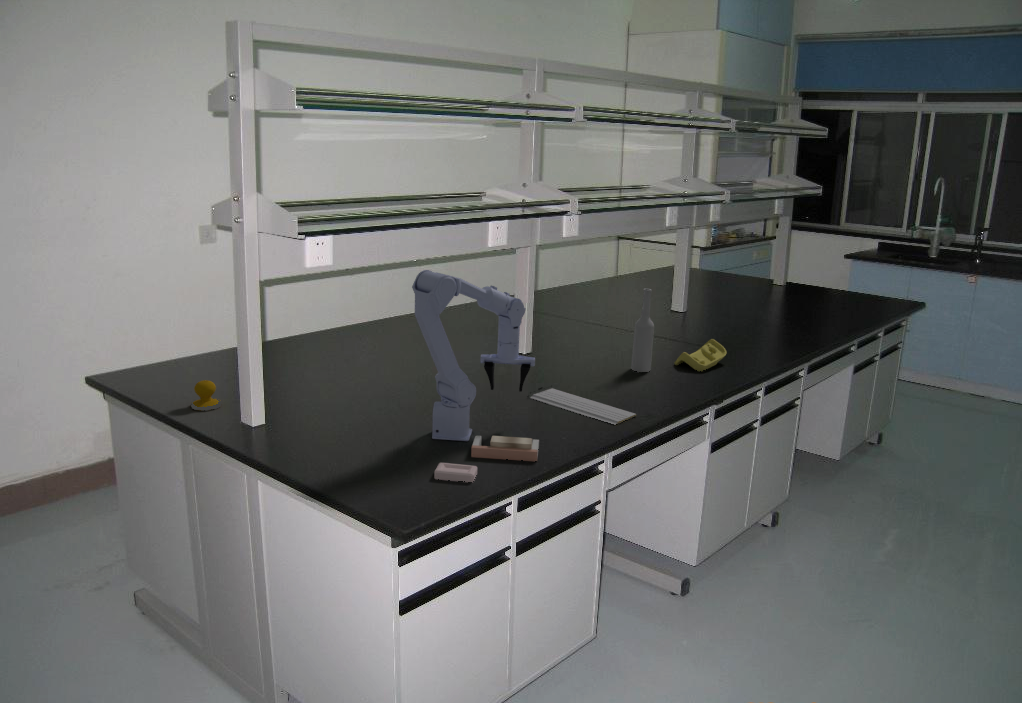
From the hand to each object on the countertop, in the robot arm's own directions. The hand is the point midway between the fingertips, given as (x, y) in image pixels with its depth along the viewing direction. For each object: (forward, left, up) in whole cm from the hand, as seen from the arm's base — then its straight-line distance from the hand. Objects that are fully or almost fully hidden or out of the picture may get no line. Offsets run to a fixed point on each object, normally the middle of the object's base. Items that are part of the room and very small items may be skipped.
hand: (506, 389), depth 216 cm
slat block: (+3, -22, -10) cm, 24 cm away
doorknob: (-83, -3, -10) cm, 84 cm away
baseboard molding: (+20, +16, -10) cm, 28 cm away
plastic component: (+63, +71, -10) cm, 95 cm away
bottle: (+41, +59, -10) cm, 72 cm away
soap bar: (-8, -37, -10) cm, 39 cm away
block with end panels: (+2, -21, -9) cm, 23 cm away
